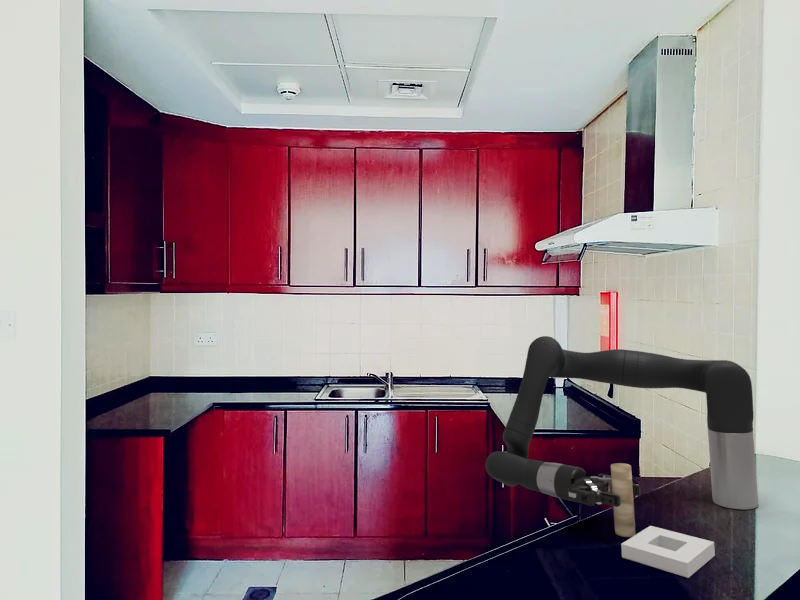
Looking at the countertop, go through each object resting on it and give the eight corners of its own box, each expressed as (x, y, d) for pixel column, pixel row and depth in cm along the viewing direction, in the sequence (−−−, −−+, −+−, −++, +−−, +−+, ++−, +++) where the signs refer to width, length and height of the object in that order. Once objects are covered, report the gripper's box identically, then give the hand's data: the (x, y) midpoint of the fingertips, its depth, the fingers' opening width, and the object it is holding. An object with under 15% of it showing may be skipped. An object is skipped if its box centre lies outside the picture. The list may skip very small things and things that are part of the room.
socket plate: (651, 538, 112) (650, 525, 112) (714, 555, 103) (714, 541, 103) (622, 557, 104) (621, 543, 104) (688, 577, 95) (687, 563, 95)
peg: (620, 527, 118) (616, 462, 118) (639, 532, 115) (634, 465, 115) (611, 533, 115) (607, 466, 116) (629, 538, 112) (625, 469, 113)
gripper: (542, 471, 122) (611, 486, 110) (577, 458, 131) (644, 470, 119) (544, 505, 122) (613, 524, 110) (579, 489, 131) (647, 505, 119)
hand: (629, 496), depth 114 cm, fingers open, 8 cm apart
